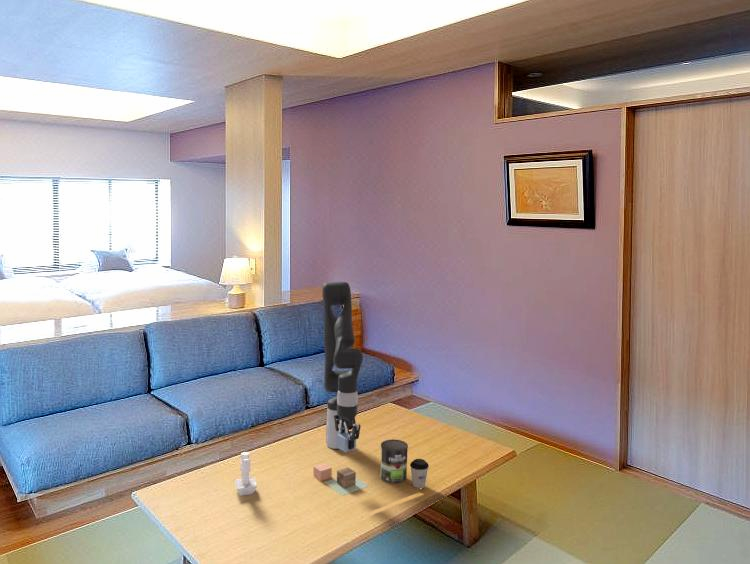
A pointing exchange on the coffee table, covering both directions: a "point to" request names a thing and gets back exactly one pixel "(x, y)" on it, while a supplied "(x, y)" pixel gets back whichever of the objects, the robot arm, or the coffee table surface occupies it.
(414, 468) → the coffee cup
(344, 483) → the walnut block
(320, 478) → the terracotta block
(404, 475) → the coffee can
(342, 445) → the slate block
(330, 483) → the baseplate
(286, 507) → the coffee table surface
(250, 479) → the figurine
